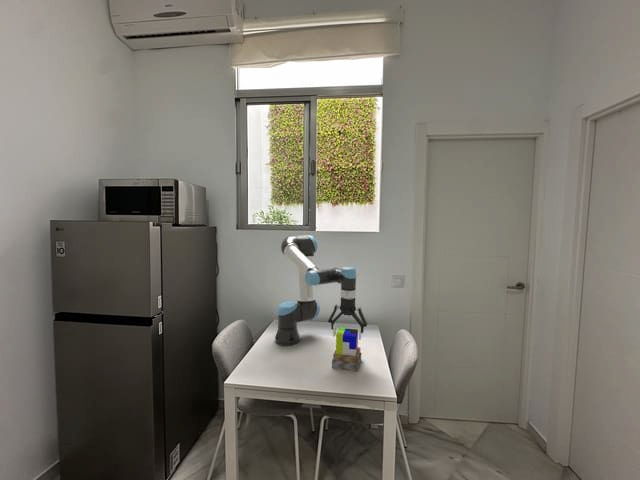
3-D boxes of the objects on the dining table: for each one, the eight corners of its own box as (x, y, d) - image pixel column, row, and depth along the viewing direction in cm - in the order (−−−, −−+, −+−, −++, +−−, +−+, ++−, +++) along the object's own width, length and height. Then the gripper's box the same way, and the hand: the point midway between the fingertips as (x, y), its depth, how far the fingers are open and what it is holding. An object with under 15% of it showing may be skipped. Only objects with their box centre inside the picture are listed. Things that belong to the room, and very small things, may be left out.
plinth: (332, 367, 156) (332, 354, 155) (337, 356, 168) (337, 344, 168) (357, 371, 152) (357, 358, 152) (361, 359, 165) (361, 347, 164)
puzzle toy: (355, 356, 154) (355, 336, 153) (335, 353, 156) (336, 334, 155) (357, 347, 164) (357, 329, 163) (339, 345, 166) (339, 327, 165)
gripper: (322, 297, 157) (322, 336, 159) (371, 301, 151) (370, 343, 152) (326, 293, 165) (325, 331, 167) (373, 297, 158) (372, 337, 160)
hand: (347, 337), depth 159 cm, fingers open, 13 cm apart
